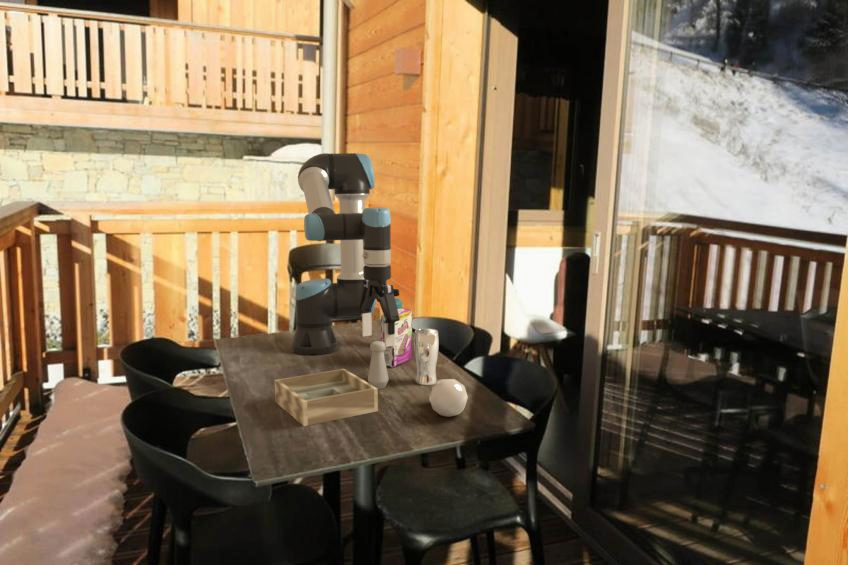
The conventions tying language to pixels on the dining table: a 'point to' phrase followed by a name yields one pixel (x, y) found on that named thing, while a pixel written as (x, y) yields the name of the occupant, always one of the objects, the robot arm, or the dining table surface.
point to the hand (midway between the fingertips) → (378, 340)
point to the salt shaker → (378, 366)
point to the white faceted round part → (448, 397)
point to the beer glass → (426, 355)
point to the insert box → (325, 396)
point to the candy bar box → (399, 339)
